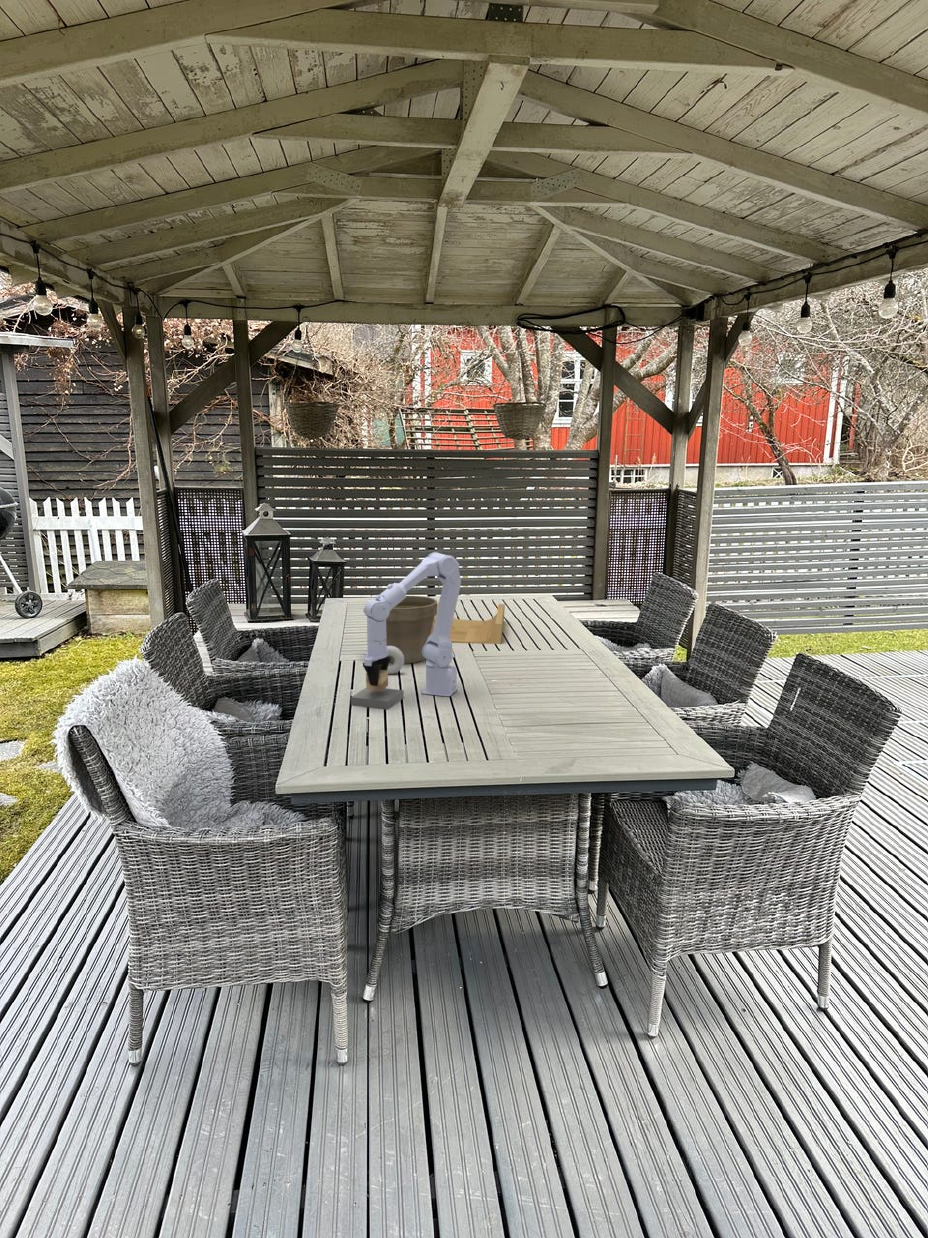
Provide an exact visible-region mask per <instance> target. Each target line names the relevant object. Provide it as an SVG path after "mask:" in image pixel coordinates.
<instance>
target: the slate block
mask: <svg viewBox="0 0 928 1238" xmlns="http://www.w3.org/2000/svg"><path fill="white" fill-rule="evenodd" d="M404 698H405V694H404V689H395V688H389V687H386V688H385V689H383V690H382V691H380V690H370V689H366V687H365V688H363V689H362V690H360V691H359V692H357V693H355V694H353V695H352V696H350V701H351V702H350V704H351V706H353V707H354V706H355V707H365V708H371V709H380V710H389V709H391V708H392V707H394V706H395V705H396V704H398V703H399V702H400V701H401V700H403V699H404Z"/></svg>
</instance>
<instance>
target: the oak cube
mask: <svg viewBox="0 0 928 1238" xmlns="http://www.w3.org/2000/svg"><path fill="white" fill-rule="evenodd" d="M365 680H366V681H365V682H366V683H365V685H366V686H365V688H366V689H370V690H380V691H382V690H383V689H385V688H389V674H388V670H380V672H379V679H378V685H377V686H371V685H370V682H369V678H368V675H367V672H366V673H365Z"/></svg>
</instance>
